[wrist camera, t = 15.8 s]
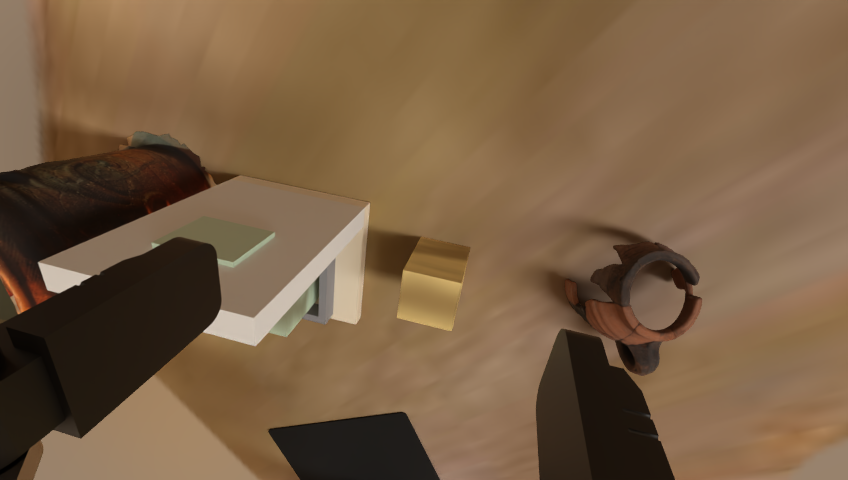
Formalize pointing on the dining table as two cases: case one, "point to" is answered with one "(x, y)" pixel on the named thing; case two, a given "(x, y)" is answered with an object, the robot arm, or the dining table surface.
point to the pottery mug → (618, 317)
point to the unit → (247, 251)
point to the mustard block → (433, 283)
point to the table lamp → (356, 449)
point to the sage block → (297, 310)
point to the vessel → (84, 206)
